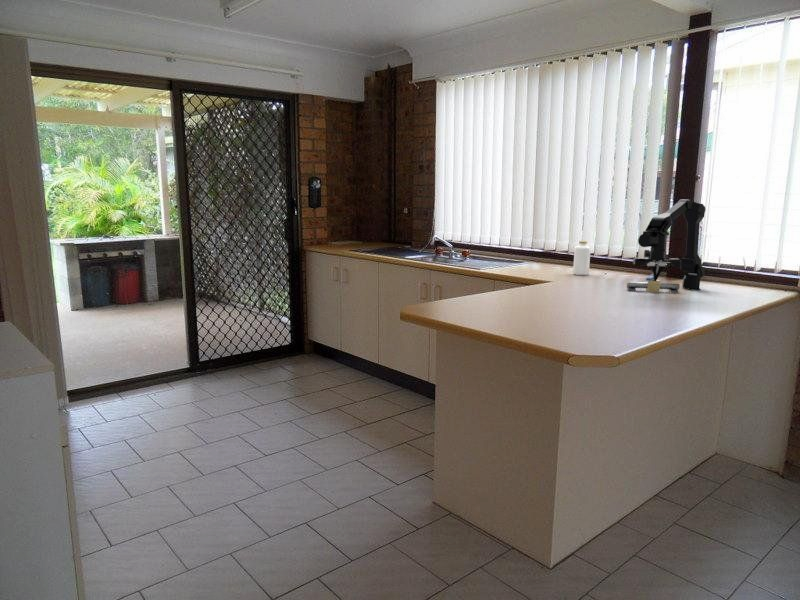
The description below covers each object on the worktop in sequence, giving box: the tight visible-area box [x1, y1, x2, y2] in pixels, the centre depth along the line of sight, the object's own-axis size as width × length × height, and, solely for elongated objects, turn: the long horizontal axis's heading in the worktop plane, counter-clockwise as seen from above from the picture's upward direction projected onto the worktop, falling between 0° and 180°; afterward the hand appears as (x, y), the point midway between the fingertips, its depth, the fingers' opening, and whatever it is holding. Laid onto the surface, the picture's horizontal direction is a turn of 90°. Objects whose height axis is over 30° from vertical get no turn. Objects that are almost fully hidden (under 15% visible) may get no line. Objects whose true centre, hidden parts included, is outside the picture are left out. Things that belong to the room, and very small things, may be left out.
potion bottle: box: [572, 240, 592, 276], centre depth 307 cm, size 8×8×18 cm
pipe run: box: [626, 279, 680, 294], centre depth 259 cm, size 22×5×6 cm, turn 76°
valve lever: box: [645, 273, 654, 282], centre depth 255 cm, size 12×3×1 cm, turn 146°
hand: (655, 281), depth 251 cm, fingers closed
